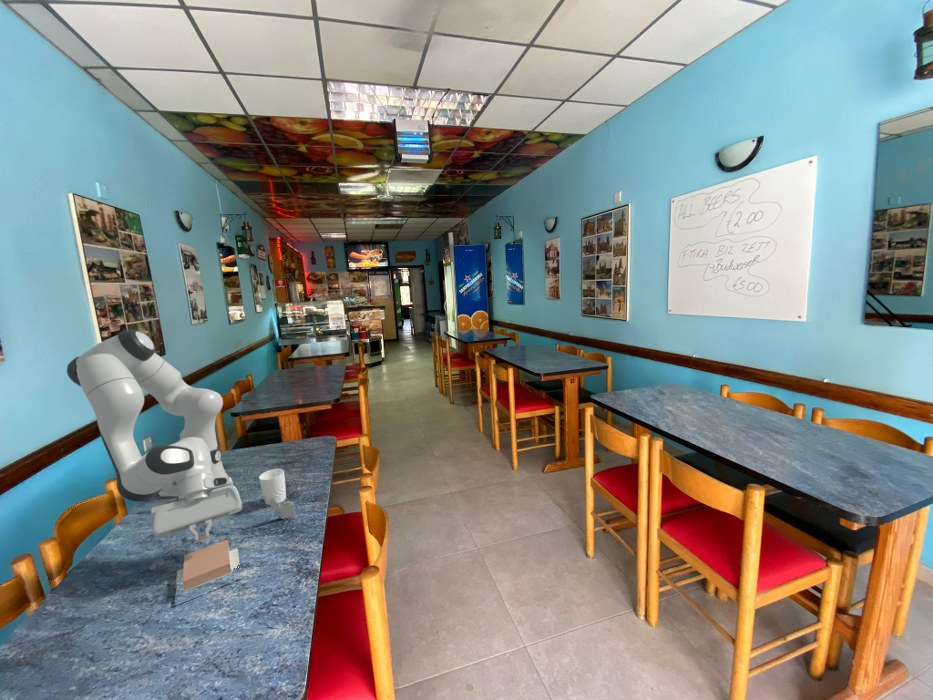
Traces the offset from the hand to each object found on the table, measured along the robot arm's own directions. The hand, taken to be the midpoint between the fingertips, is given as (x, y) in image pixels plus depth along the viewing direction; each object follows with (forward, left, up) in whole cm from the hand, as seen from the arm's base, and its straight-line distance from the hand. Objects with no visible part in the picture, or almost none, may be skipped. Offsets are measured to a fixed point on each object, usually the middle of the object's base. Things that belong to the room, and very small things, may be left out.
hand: (202, 539), depth 103 cm
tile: (-1, +3, -6) cm, 7 cm away
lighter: (+13, +19, -8) cm, 25 cm away
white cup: (+6, +31, -8) cm, 33 cm away
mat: (+3, -4, -8) cm, 9 cm away
